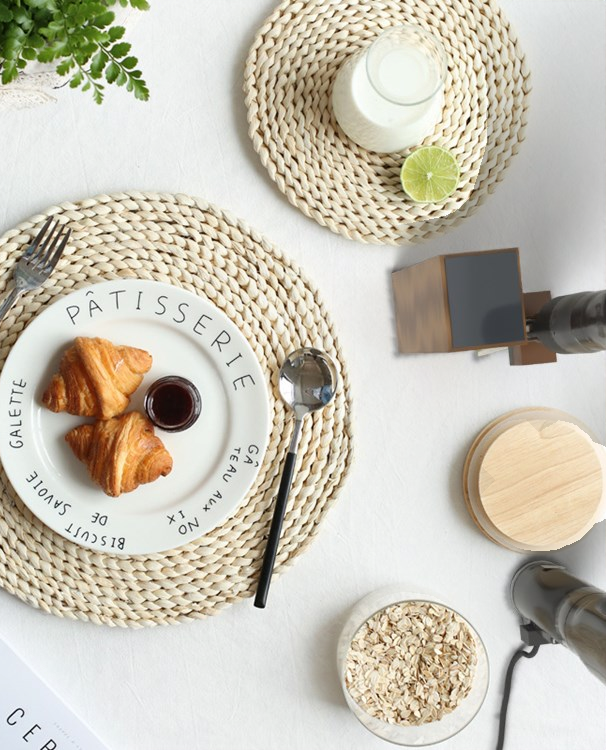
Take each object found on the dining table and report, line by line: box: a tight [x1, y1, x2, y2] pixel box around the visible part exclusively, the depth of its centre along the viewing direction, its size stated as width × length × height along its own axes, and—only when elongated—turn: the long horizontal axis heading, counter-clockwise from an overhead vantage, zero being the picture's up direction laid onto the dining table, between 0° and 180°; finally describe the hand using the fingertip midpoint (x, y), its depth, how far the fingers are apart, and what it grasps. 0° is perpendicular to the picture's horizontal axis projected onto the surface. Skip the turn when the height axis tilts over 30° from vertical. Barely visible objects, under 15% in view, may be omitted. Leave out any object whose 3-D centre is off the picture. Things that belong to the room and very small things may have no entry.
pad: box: [444, 251, 525, 348], centre depth 101 cm, size 11×9×1 cm
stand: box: [390, 246, 528, 355], centre depth 112 cm, size 12×10×22 cm
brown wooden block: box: [507, 290, 558, 367], centre depth 117 cm, size 10×5×4 cm, turn 6°
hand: (524, 329), depth 118 cm, fingers closed on brown wooden block, 5 cm apart
